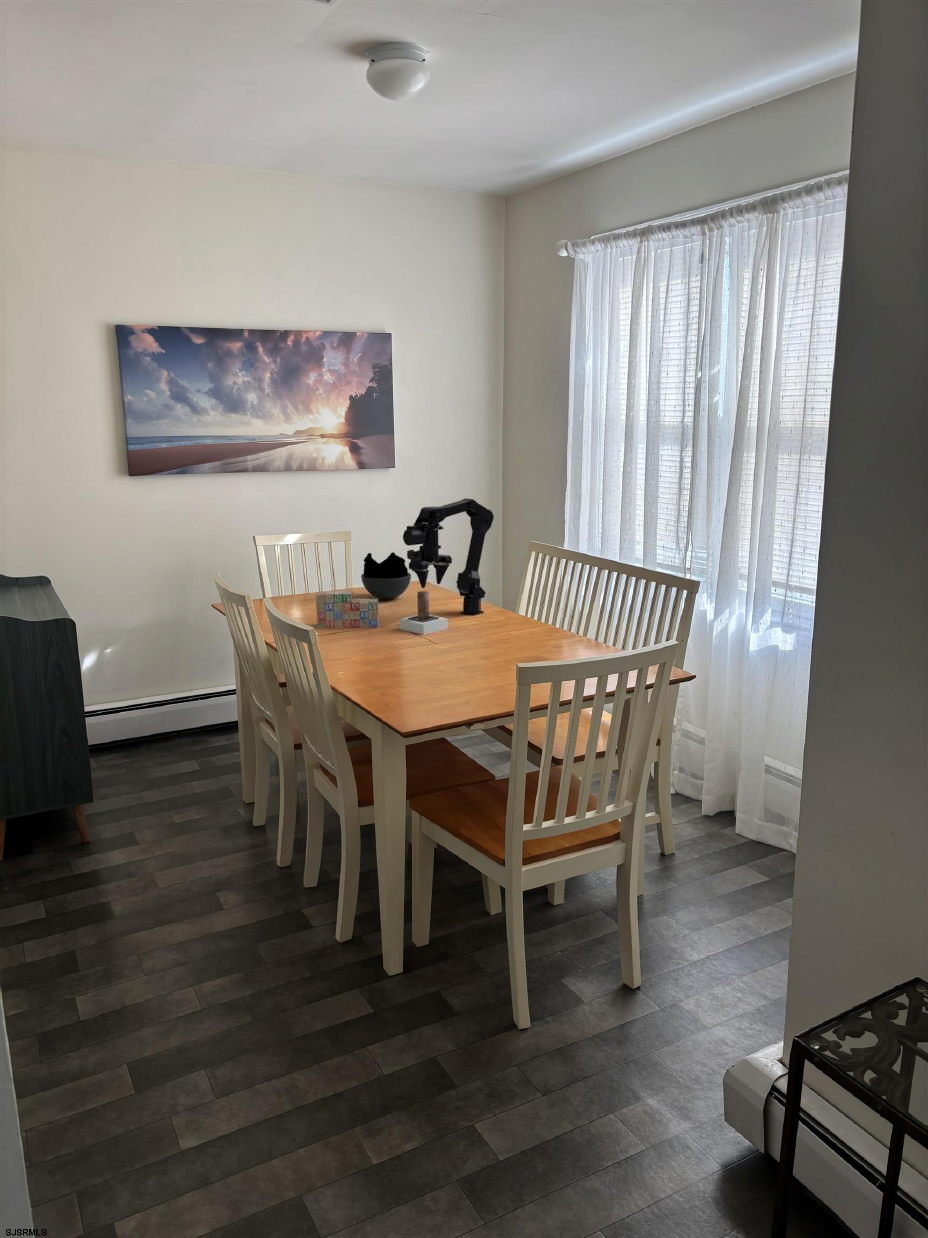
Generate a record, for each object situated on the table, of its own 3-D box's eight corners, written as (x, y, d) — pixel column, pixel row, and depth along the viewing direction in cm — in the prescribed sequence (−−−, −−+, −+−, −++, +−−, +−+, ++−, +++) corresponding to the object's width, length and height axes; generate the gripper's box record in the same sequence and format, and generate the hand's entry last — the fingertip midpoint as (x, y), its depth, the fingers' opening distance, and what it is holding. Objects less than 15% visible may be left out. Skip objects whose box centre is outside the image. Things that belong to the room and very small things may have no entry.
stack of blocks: (379, 623, 323) (378, 590, 321) (377, 627, 317) (376, 593, 314) (319, 624, 323) (318, 590, 320) (317, 628, 317) (315, 593, 314)
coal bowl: (421, 597, 368) (420, 551, 363) (391, 606, 351) (390, 558, 347) (381, 592, 378) (380, 547, 374) (351, 600, 362) (350, 554, 357)
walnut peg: (426, 626, 318) (426, 590, 315) (431, 629, 314) (430, 592, 311) (416, 628, 316) (415, 591, 313) (420, 630, 313) (419, 593, 310)
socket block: (423, 623, 323) (423, 612, 322) (447, 628, 315) (447, 617, 315) (399, 629, 315) (399, 617, 314) (423, 634, 307) (423, 623, 306)
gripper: (427, 538, 332) (428, 579, 335) (396, 544, 317) (397, 587, 320) (452, 540, 326) (452, 582, 329) (421, 546, 311) (422, 591, 314)
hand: (430, 586), depth 323 cm, fingers open, 9 cm apart
